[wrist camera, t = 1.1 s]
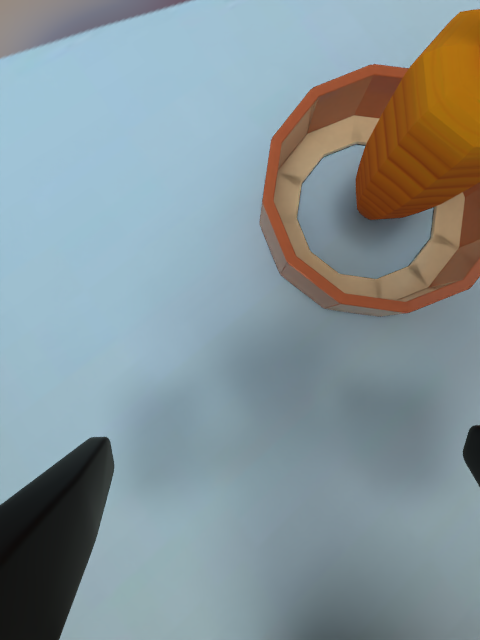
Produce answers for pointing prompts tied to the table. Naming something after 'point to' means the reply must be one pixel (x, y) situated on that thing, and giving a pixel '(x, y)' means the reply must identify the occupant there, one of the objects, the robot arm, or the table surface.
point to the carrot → (427, 129)
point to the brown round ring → (334, 135)
